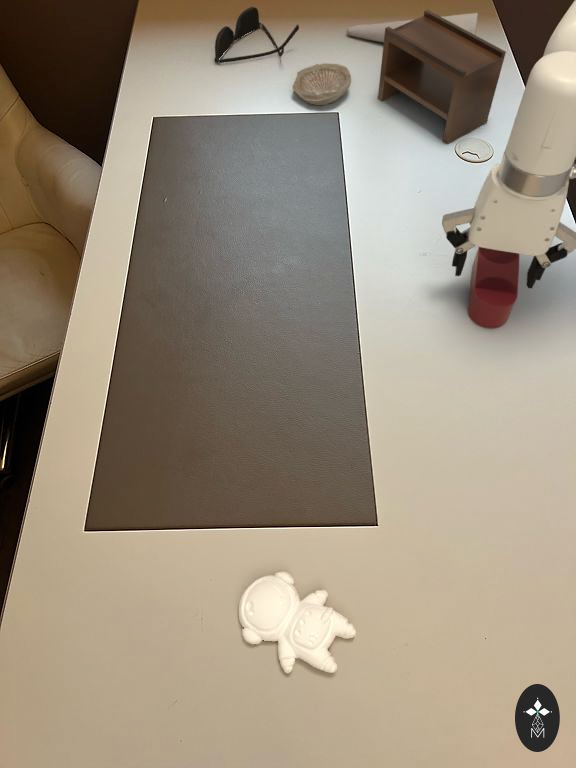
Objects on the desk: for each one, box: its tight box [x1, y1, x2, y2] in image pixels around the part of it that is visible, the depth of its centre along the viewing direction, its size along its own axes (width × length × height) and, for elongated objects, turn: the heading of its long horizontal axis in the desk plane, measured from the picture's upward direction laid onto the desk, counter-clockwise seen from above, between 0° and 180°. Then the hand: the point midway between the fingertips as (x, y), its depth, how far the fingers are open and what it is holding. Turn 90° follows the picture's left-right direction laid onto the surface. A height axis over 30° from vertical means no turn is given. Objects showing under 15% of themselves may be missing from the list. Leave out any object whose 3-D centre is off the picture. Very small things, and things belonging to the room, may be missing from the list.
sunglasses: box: [213, 6, 300, 64], centre depth 124 cm, size 17×14×5 cm
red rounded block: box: [467, 247, 520, 329], centre depth 87 cm, size 14×6×4 cm, turn 166°
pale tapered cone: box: [346, 12, 479, 44], centre depth 124 cm, size 8×9×26 cm
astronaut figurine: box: [238, 571, 357, 674], centre depth 63 cm, size 9×12×3 cm
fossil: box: [292, 63, 352, 106], centre depth 117 cm, size 10×12×3 cm
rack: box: [377, 9, 507, 145], centre depth 109 cm, size 10×18×13 cm, turn 37°
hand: (493, 275), depth 86 cm, fingers open, 9 cm apart
